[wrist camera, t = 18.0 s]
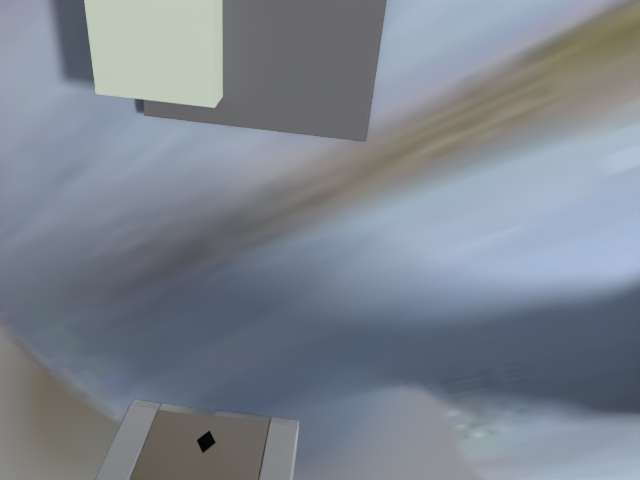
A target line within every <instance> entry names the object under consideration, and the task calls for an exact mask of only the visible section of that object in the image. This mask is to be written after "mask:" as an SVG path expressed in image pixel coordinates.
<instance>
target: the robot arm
mask: <svg viewBox="0 0 640 480" xmlns="http://www.w3.org/2000/svg"><path fill="white" fill-rule="evenodd" d="M298 433H299V420H291V419H283V418H274V417H272V418H271V416H263V415H254V414H245V413H236V412H227V411H218V410H217V411H210V410H204V409H197V408H191V407H184V406H178V405H171V404H165V403H157V402H150V401H143V400H134V401H133V403H132V404H131V405H130V406H129V407H128V409H127V412H126V414H125V416H124V418H123V420H122V422H121V424H120V426H119V429H118V431H117V433H116V435H115V437H114V439H113V441H112V443H111V446H110V448H109V450H108V452H107V454H106V456H105V458H104V461H103V463H102V465H101V467H100V469H99V471H98V474H97V476H96V478H95V480H293V479H294V470H295V460H296V452H297V443H298Z"/></svg>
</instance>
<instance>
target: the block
mask: <svg viewBox="0 0 640 480" xmlns="http://www.w3.org/2000/svg"><path fill="white" fill-rule="evenodd" d="M84 4H85V12H86V19H87V27H88V35H89V43H90V51H91V59H92V67H93V75H94V83H95V91H96V94H101V95H109V96H118V97H126V98H135V99H143V100H152V101H160V102H169V103H177V104H186V105H194V106H203V107H211V108H215V107H216V106H217V104H218V103H219V101H220V100H221V98H222V97H223V26H222V0H84Z"/></svg>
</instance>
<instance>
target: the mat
mask: <svg viewBox="0 0 640 480" xmlns="http://www.w3.org/2000/svg"><path fill="white" fill-rule="evenodd" d="M386 1H387V0H222V26H223V97H222V98H221V100H220V101H219V103H218V104H217V106H216V107H215V108H211V107H203V106H194V105H186V104H177V103H169V102H160V101H152V100H143V103H144V115H145V116H152V117H160V118H169V119H177V120H186V121H194V122H203V123H211V124H220V125H228V126H236V127H245V128H253V129H262V130H270V131H279V132H287V133H296V134H304V135H313V136H321V137H330V138H338V139H347V140H355V141H363V142H366V138H367V131H368V124H369V118H370V111H371V104H372V97H373V90H374V83H375V76H376V70H377V63H378V56H379V49H380V42H381V35H382V28H383V21H384V15H385V8H386Z"/></svg>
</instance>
